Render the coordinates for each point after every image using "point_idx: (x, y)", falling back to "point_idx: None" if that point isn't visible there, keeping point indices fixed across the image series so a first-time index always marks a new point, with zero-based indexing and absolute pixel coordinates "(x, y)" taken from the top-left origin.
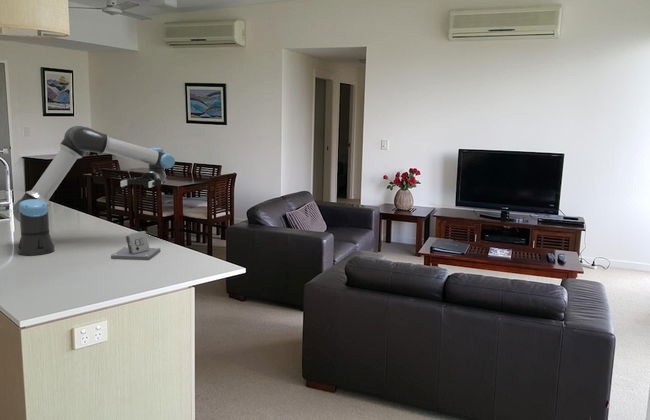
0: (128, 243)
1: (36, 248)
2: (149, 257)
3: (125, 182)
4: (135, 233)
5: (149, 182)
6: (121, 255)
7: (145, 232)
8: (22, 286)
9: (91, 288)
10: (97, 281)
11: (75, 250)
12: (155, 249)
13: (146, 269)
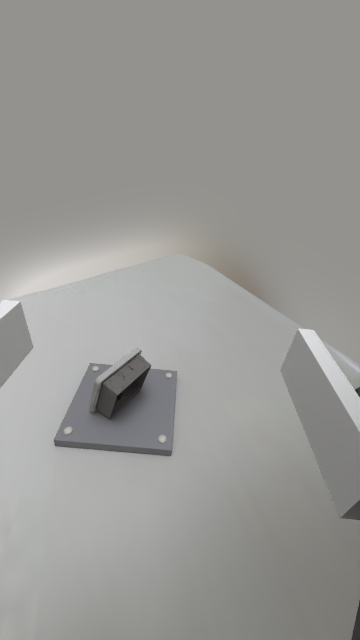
0: (142, 373)
1: (358, 389)
2: (89, 367)
3: (328, 424)
4: (123, 357)
5: (10, 303)
6: (153, 371)
7: (95, 381)
8: (230, 290)
9: (153, 283)
10: (155, 295)
11: (307, 445)
12: (71, 424)
13: (94, 326)
